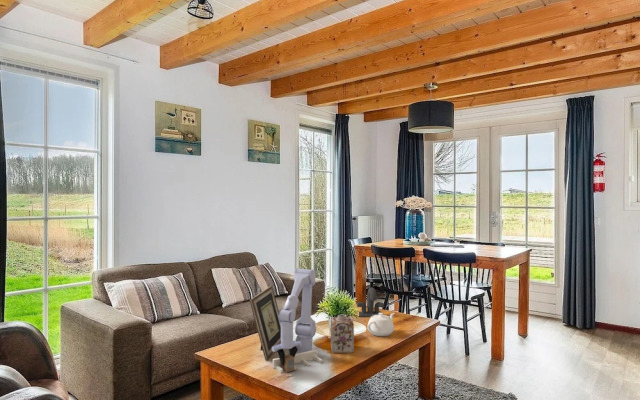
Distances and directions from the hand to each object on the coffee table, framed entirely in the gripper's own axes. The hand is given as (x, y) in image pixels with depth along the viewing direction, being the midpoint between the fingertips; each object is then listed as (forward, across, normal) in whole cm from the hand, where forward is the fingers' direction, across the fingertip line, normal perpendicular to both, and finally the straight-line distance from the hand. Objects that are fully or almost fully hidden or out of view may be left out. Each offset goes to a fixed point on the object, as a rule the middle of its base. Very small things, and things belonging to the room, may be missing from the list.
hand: (286, 363), depth 200 cm
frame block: (+2, 0, 0) cm, 2 cm away
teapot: (+3, +72, +18) cm, 74 cm away
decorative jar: (+3, +37, +8) cm, 38 cm away
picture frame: (+3, +4, +30) cm, 30 cm away
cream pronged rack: (+3, +7, +2) cm, 8 cm away
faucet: (+3, +88, +48) cm, 100 cm away
